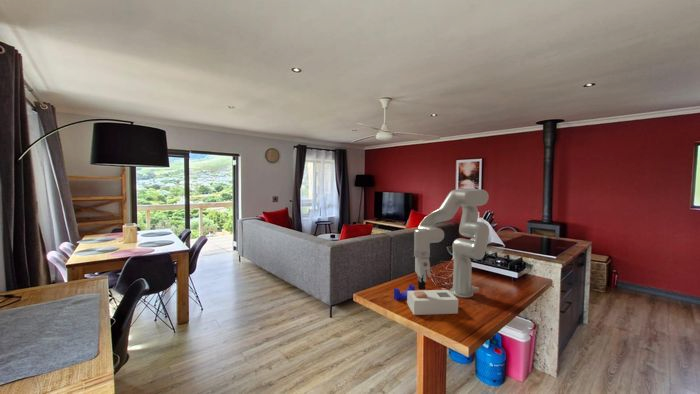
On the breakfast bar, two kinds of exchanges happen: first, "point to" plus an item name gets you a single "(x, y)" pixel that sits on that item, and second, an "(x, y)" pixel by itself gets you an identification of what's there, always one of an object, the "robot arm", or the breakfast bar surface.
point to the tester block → (432, 303)
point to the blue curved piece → (403, 295)
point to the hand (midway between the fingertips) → (421, 288)
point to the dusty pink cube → (420, 294)
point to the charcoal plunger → (443, 294)
